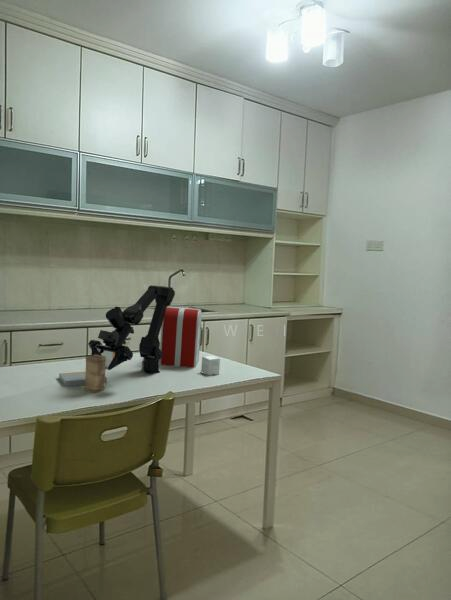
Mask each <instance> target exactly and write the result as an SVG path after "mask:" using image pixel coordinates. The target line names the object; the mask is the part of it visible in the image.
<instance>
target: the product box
mask: <svg viewBox="0 0 451 600" xmlns="http://www.w3.org/2000/svg"><path fill="white" fill-rule="evenodd" d="M220 362H221V358H219V357H217V356H215V355H207V356H202V357H201V370H200V372H201V373H202V372H203V374H204V373H205V375H207V376H212V375H213V374H214V375H218V374H220Z"/></svg>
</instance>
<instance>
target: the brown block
mask: <svg viewBox="0 0 451 600" xmlns="http://www.w3.org/2000/svg"><path fill="white" fill-rule="evenodd" d="M105 362H106V357H105V356H101V355H96V354H95V355H87V356H86V357H85V371H86V374H85V385H84V391H85V392H88V393H93V394H97V393H100V392H103V391H105V390H106V387H105V384H106V383H105V376H106V367H105Z"/></svg>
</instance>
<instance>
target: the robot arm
mask: <svg viewBox="0 0 451 600" xmlns="http://www.w3.org/2000/svg"><path fill="white" fill-rule="evenodd" d="M175 292H176V291H175V290H174V288H173V287H171V286H163V285H152V284H151V285H149V286H148V288H147V290H146V291H144V293H143V294H142V296H140V298H139V299H138V300H137V301H136V302H135V303H134V304H132V305H129V306H127V308H125V309H124V310H123V311H122V308H121V306H117V305H116V306H114V308H111V309H109V310H108V311H106V313H105V318H106V320H107V321H108V322H109V324H110V325H111V327H112V328H113V329H114V330H112V331H108V330H102V329H100V331H99V334H98V335H97V336H98V337H97V339H100V340H102V342H101V341H100V340H97V339H90V341H89V342H88V344H87V345H88V347H89V348H90V350H91V355H95V354H96V355H101V354H102V353H103V352H104V351H109V352H114V353H115V356H114V358H113V360H112V361H111V363H110V365H109V367H108V368H107V370H108V371H111V370H112V369H114V368H115V367H117V366H119V365H121V364H123V363H124V362H128V361H132V358H133V357H134V353H133V351H132V350H131V349H130V347H129V346H127V345H126V343H127V341H126V340H127V338H128V336H129V335H130V334H132V335H133V334H135V330H134V326H132V325H139V324H140V323H141V322H142V320H143V318H144V313H145V311H146V310H147V309H148V307H149V306H151V304H152V303H153V302H154V300H155V305H154V306H155V307H154V311H153V314H152V316H151V320H150V325H149V328H148V331H147V334H146V335H145V336H142V337H141V338H140V342H139V345H138V351H139V356H140V358H142V362H141V371H142V372H144V373H145V374H153V373H154V374H155V373H160V370H159V368H160V367H159V366H160V365H159V360H160V359H162V356H163V353H162V352H161V350H160V342H161V341H160V338H159V336H160V334H161V326H162V322H163V319H164V315H165V312H166V308H167V307H169V305H170V304H171V303H172V302H173V300H174V297H175V295H176V293H175ZM102 344H105V345H102ZM91 355H90V356H91Z"/></svg>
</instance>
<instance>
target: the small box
mask: <svg viewBox="0 0 451 600" xmlns="http://www.w3.org/2000/svg"><path fill="white" fill-rule="evenodd" d="M101 344H102V345H105V343H101ZM101 356H105V357H106V362H105V369H106V368H107V369H108V367H109V365H110V363H111V361H112V360H113V358H114V356H115V353H114V352H109V351H104V352H103V353H101Z"/></svg>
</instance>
